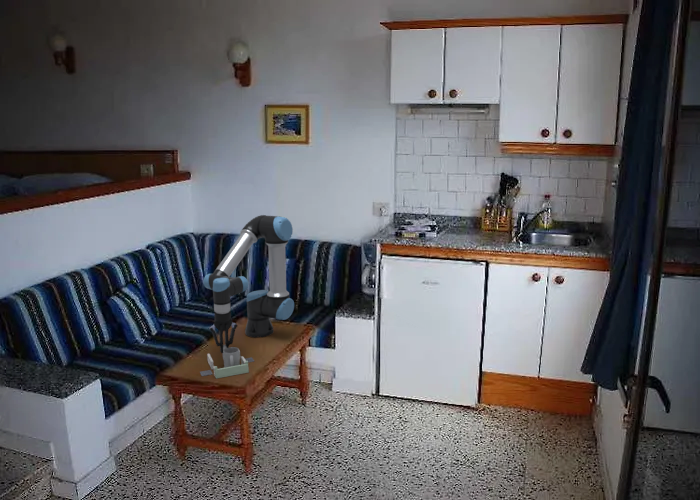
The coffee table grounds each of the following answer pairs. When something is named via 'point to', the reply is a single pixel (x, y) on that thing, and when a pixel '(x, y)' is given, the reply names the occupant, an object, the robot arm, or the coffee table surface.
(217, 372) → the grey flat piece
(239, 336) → the coffee table surface
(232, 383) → the coffee table surface
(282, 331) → the coffee table surface
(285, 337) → the coffee table surface
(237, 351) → the cup
